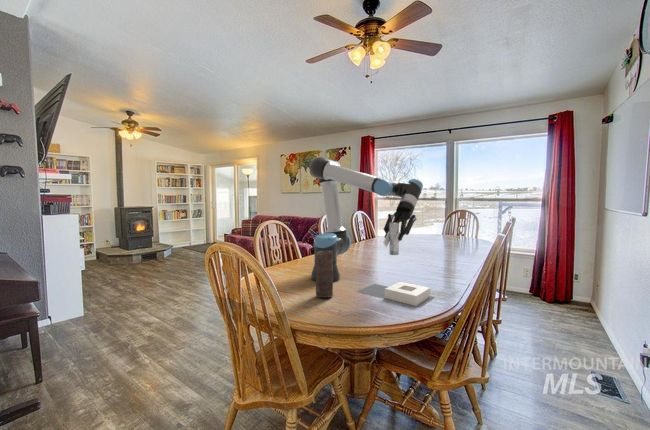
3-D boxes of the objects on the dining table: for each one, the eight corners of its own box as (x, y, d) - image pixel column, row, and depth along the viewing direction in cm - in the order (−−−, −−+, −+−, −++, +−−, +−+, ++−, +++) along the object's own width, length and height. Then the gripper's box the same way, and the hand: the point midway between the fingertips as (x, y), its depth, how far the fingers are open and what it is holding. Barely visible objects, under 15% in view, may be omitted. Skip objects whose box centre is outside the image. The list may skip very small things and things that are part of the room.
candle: (331, 300, 126) (331, 253, 125) (313, 299, 128) (314, 252, 126) (334, 294, 134) (334, 250, 132) (317, 293, 135) (318, 249, 134)
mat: (356, 292, 137) (356, 291, 137) (374, 284, 149) (374, 283, 149) (420, 309, 117) (420, 307, 117) (435, 298, 129) (435, 297, 129)
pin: (387, 254, 134) (387, 223, 133) (392, 253, 137) (392, 222, 136) (396, 255, 131) (396, 223, 131) (400, 254, 135) (400, 222, 134)
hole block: (384, 297, 128) (384, 288, 128) (399, 290, 139) (400, 281, 139) (416, 305, 119) (416, 296, 119) (429, 296, 130) (430, 287, 130)
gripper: (426, 211, 139) (411, 252, 128) (392, 210, 150) (375, 248, 139) (422, 200, 135) (405, 241, 123) (387, 200, 146) (369, 238, 134)
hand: (390, 245), depth 131 cm, fingers closed on pin, 4 cm apart
